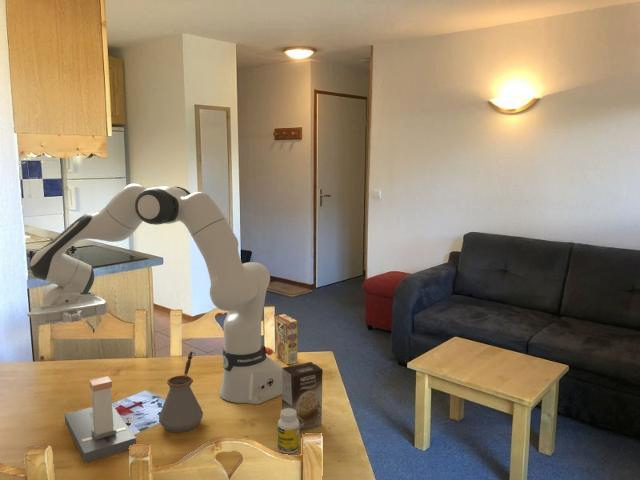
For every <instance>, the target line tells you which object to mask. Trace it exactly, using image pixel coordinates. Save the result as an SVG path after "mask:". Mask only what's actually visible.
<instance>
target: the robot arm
mask: <svg viewBox="0 0 640 480" xmlns="http://www.w3.org/2000/svg"><path fill="white" fill-rule="evenodd" d="M143 222H144V223H146V224H149V225H158V226H159V225H165V224H167V225H169V224H174V223H177V222H180V223H182V224H184V226H185V227H186V228H187V230H188V232H189V234H190V236H191V238H192V239H193V242H194V243H195V245H196V246H197V249H198V250H199V252H200V254H201V256H202V257H203V260H204V262H205V264H206V269H207V273H208V275H209V280H210V288H209V297H210V300H211V303H212V304H213V306H215V307H216V308H217V309H219V310H221V311H224V312H227V313H226V317H225V319H224V321H223V348H222V367H223V375H222V380H221V381H222V382H221V384H220V385H221V387H220V390H219V396H220V398H222V399H223V400H225V401H228V402H231V403H238V404H239V403H240V404H241V403H242V404H244V403H245V404H252V405H259V404H261V403H264V402H266V401H269V400H271V399H273V398H275V397H278V396H280V395H282V368H283V366H282V365H281V364H280V363H278V362H277V361H275V360H274V359H272V358H271V357H269V356H273V354H274V350H273V348H271V347H268V346H265V345H263V344H262V318H263V313H264V307H265V303H266V301H265V300H266V294H267V290H268V287H269V285H270V282H271V274H270V272H269V270H268V268H267V267H266V266H265V265H264V264H262V263H260V262H257V261H255V262H253V261H251V262H250V261H249V262H244V263H243V261H242V259H241V257H240V253H239V246H240V245H239V239H238V238H237V236H236V234H235V233H234V231H233V230H232V228H231V226H230V224H229V223H228V220H227V219H226V217H225V215H224V213H223V212H222V210H221V209H220V207H219V206H218V205H217V204H216V202H215V201H214V199H212V198H211V196H210V195H209V194H208V193H206V192H204V191H195V192H192V193H191V192H190V191H189V190H188V189H186V188H183V187H180V186H169V185H168V186H167V185H162V186H161V185H160V186H156V187H153V186H152V187H149V188H146V187H145V186H143V185H141V184H139V183H130V184H128V185H126V186H124V187H123V188H122V189H121V190H119V191H118V193H116V194H115V195H114V196H113V197H112V198H111V200H110V201H108V203H107V204H106V205H105V207H103V208H102V209H100V210H98V211H97V212H94V213H84V214H83V215H82V216H80V217H79V218H77V219H76V220H75V221H74V222H73V223H71V224H70V225H69V226H68V227H66V228H65V229H64V230H63V231H62V232H61V233H59V234H58V235H57V236H56V237H55V238H53V240H51V241H50V242H49V243H47V244H46V245H45V246H43V247H42V248H40V249H39V250H37V252H35V254H34V255H33V256H32V257H31V260H30V262H29V269H30V271H31V273H32V276H34V277H33V278H35V279H39V280H42V281H46V282H49V283H51V284H49V285H48V286H47V287H46V288H45V289H44V290H43V292H42V303H43V306H37V307H34V308H32V309H31V310H30V311H28V312H27V317H28V318H31V325H32V326H35V327H41V326H45V325H50V324H57V323H74V322H80V321H82V319H87V318H93V317H98V316H104V315H107V314H108V302H107V301H106V299H104V298H102V297H101V296H98V295H96V293H95V292H92V291H91V289H92V287H93V284H94V283H95V271H94V269H93V267H92V265H90V264H89V263H86V262H85V261H83V260H80V259H77V258H75V257H73V256H71V255H69V254H66V253H65V252H66V251H68V249H69V248H71V247H73V245H75V244H76V243H77V242H78V241H82V240H100V241H104V242H109V243H110V242H111V243H115V242H116V243H117V242H121V241H124V240H127V239H128V238H129V237H131V236H132V235H133V233H134V232H135V231H136V230H137V229H138V228H139V227H140V226H141V224H142V223H143ZM90 291H91V292H90Z"/></svg>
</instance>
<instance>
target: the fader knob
mask: <svg viewBox="0 0 640 480" xmlns="http://www.w3.org/2000/svg"><path fill="white" fill-rule="evenodd" d="M89 388H90V390H91V392H90V393H91V394H90V395H91V407H92V410H93V424H94V429H91V432H92V435H93V436H94V438H95V440H97V439H101V438H104V437H107V436H111V435H114V434H117V433H116V429H115V427H114V426H113V411H112V405H113V397H112V396H113V395H112V388H113V381H112V380H111V378H110V377H109V375H107V376H103V377H99V378H94V379H93V378H92V379H90V380H89Z"/></svg>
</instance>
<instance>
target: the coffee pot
mask: <svg viewBox="0 0 640 480" xmlns="http://www.w3.org/2000/svg"><path fill="white" fill-rule="evenodd" d="M193 354H195V355H193ZM196 355H197V354H196V353H195V352H193V351H192V350H191V351H190V352H188V353H187V361H186V362H185V368H184V373H183V375H182V374H181V375H175V376H172V377H170V378H168V379H167V382H166V383H167V385H168V386H169V391H168V393H167V395H166V397H165V400H164V402H163V405H162V408H161V409H160V410H161V411H160V413H159V415H158V421H159V423H160V425H161V426H162V427H164V428H165V429H167V430H168V431H169V432H171V433H178V434H179V433H186V432H188V431H192V430H194V428H195V427H196V426H197V425H198V424H199V423H200V422H201V420H202V419H203V416H204V412H203V410H202V408H201V406H200V404H199V401H198V399H197V398H196V395H195V394H194V392H193V390H192V388H191V386H192V384H193V382H194V380H193V378H192V377H191V376H189V375H188V373H189V370H190V367H191V362H192V361H191V360H192V359H193V358H194V357H196Z"/></svg>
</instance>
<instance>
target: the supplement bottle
mask: <svg viewBox="0 0 640 480" xmlns="http://www.w3.org/2000/svg"><path fill="white" fill-rule="evenodd" d="M279 413H280V415H279V416H280V418H279V419H278V420H277V449H278V451H279V452H280V453H282V454H294V453H296V452H298V450H299V448H300V431H299V420H298V419H297V418H296V417H297V412H296V410H294V409H292V408H286V409H283V410H282V409H281V410H280V412H279Z"/></svg>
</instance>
